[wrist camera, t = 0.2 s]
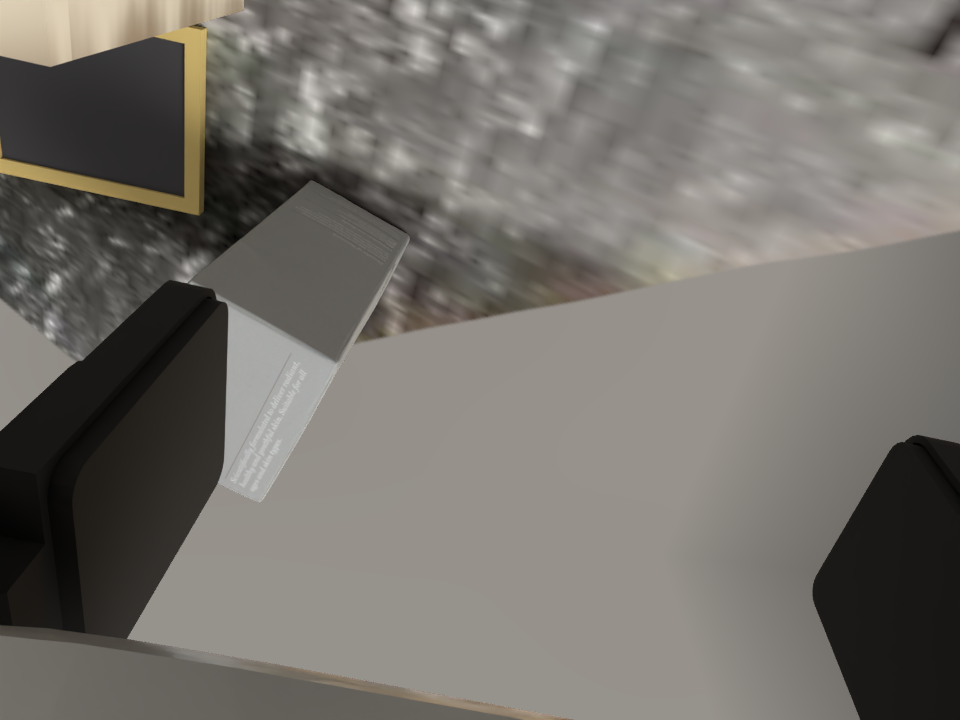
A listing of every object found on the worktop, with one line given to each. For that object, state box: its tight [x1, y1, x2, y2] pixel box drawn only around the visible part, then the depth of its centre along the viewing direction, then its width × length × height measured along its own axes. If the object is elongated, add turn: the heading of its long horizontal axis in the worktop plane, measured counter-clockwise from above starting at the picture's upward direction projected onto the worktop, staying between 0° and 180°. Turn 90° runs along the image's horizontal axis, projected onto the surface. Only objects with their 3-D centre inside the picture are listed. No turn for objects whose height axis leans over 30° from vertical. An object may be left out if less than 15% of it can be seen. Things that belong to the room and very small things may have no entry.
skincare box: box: [187, 180, 410, 502], centre depth 36 cm, size 8×7×16 cm
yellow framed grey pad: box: [0, 25, 207, 215], centre depth 39 cm, size 10×12×1 cm
